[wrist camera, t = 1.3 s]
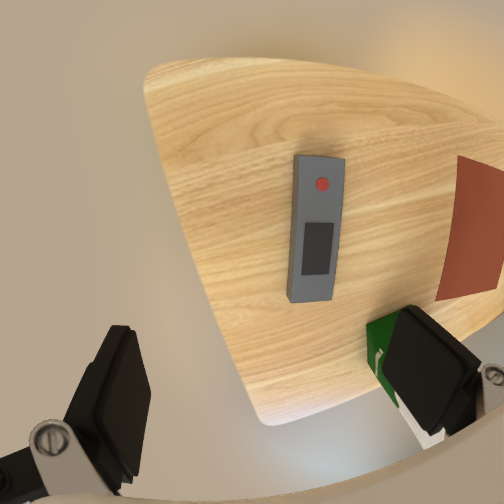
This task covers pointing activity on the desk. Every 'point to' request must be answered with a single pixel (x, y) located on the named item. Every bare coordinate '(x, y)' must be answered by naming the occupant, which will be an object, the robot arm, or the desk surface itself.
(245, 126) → the desk surface
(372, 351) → the milk carton
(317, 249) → the remote
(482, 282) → the mat
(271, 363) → the desk surface
